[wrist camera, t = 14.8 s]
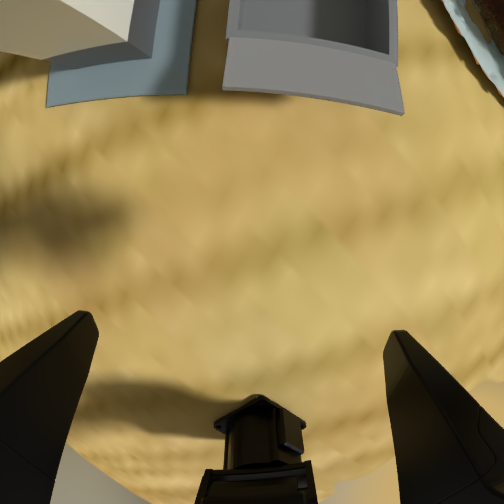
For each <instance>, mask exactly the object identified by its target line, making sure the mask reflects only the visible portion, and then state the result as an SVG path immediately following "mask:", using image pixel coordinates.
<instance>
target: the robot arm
mask: <svg viewBox="0 0 504 504" xmlns="http://www.w3.org/2000/svg"><path fill="white" fill-rule="evenodd" d="M98 337H99V331H98V328H97V326H96V323H95V321H94V318H93V316H92V314H91V313H90V312H88V311H82V310H79V311H77V312H75V313H74V314H72V315H70V316H69V317H67V318H66V319H64V320H63V321H61V322H60V323H58V324H57V325H55V326H53V327H52V328H50V329H49V330H47V331H46V332H44V333H43V334H41V335H40V336H38V337H37V338H35V339H34V340H32V341H31V342H29V343H28V344H26V345H25V346H23V347H22V348H20V349H19V350H17V351H16V352H14V353H13V354H11V355H10V356H8V357H7V358H6V359H4V360H3V361H1V362H0V504H50V500H51V496H52V491H53V487H54V483H55V479H56V475H57V471H58V467H59V463H60V459H61V456H62V452H63V449H64V446H65V442H66V439H67V436H68V433H69V429H70V426H71V423H72V420H73V417H74V414H75V411H76V408H77V405H78V402H79V399H80V396H81V394H82V391H83V388H84V385H85V383H86V380H87V377H88V373H89V370H90V366H91V362H92V359H93V355H94V351H95V348H96V344H97V341H98ZM383 361H384V371H385V383H386V397H387V405H388V411H389V417H390V423H391V429H392V436H393V442H394V449H395V457H396V465H397V473H398V482H399V491H400V503H401V504H504V429H503V428H502V427H501V426H500V425H499V424H498V423H497V422H496V421H495V420H494V419H493V418H492V417H491V416H490V415H489V414H488V413H487V412H486V411H485V409H484V408H483V407H481V406H480V405H479V403H478V402H477V401H476V400H475V399H474V398H473V397H472V396H471V395H470V394H469V393H468V392H467V391H466V390H465V389H464V388H463V387H462V386H461V384H460V383H459V382H458V381H457V380H456V379H455V378H454V377H453V376H452V375H451V374H450V373H449V372H448V371H447V370H446V369H445V368H444V367H443V366H442V365H441V364H440V363H439V362H438V361H437V360H436V359H435V358H434V357H433V356H432V355H431V354H430V353H429V352H428V351H427V350H426V349H425V348H424V347H423V346H422V345H420V344H419V343H418V342H417V341H416V340H415V339H414V338H413V337H412V336H411V335H410V334H409V333H408V332H407V331H405V330H394V331H392V332H391V333H390V336H389V338H388V341H387V343H386V345H385V348H384V351H383ZM261 401H263V402H261ZM214 428H215V429H217V430H218V431H220V432H222V433H224V434H226V436H225V451H224V466H223V470H213V469H206V470H205V473H204V476H203V477H202V480H201V483H200V487H199V490H198V493H197V497H196V500H195V503H194V504H318V501H317V494H316V488H315V482H314V476H313V470H312V464H311V460H308V461H304V462H302V461H301V454H303V453H304V445H303V438H302V431H301V430H303V429H304V428H306V422H305V421H303V420H302V419H300V418H299V417H297V416H296V415H294V414H292V413H291V412H289V411H287V410H286V409H284V408H282V407H281V406H279V405H277V404H276V403H274V402H273V401H271V400H270V399H268V398H267V397H265V396H260V397H258V398H256V399H254V400H253V401H251V402H249V403H247V404H246V405H244V406H242V407H241V408H239V409H237V410H235V411H234V412H232V413H230V414H228V415H226V416H225V417H223V418H221V419H219V420H217V421H215V422H214Z"/></svg>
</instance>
